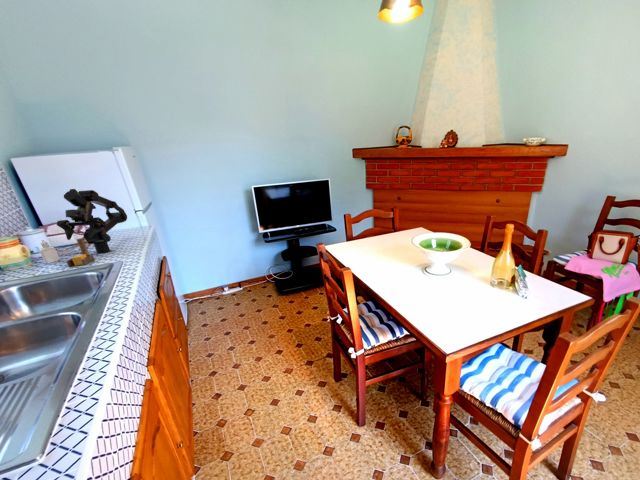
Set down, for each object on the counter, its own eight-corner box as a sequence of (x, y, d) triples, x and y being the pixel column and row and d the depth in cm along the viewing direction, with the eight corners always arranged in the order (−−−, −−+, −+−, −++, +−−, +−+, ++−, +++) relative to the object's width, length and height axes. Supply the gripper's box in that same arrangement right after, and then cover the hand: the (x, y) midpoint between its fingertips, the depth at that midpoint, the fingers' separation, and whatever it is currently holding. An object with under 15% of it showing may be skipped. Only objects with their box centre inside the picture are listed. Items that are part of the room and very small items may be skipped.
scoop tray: (82, 261, 152) (73, 238, 147) (98, 259, 153) (89, 237, 148) (69, 268, 143) (58, 244, 138) (85, 267, 144) (75, 243, 139)
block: (80, 262, 148) (77, 255, 146) (89, 261, 148) (86, 254, 147) (74, 265, 144) (71, 257, 143) (83, 264, 145) (80, 256, 143)
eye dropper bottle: (60, 262, 153) (50, 239, 148) (45, 265, 149) (34, 242, 145) (60, 259, 156) (50, 238, 151) (45, 263, 152) (35, 240, 148)
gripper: (50, 204, 143) (43, 232, 137) (93, 201, 146) (88, 228, 140) (68, 216, 153) (62, 243, 147) (108, 213, 156) (104, 239, 150)
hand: (78, 238), depth 146 cm, fingers open, 9 cm apart
